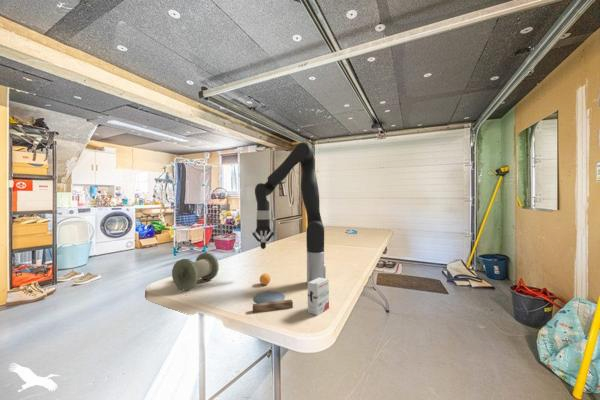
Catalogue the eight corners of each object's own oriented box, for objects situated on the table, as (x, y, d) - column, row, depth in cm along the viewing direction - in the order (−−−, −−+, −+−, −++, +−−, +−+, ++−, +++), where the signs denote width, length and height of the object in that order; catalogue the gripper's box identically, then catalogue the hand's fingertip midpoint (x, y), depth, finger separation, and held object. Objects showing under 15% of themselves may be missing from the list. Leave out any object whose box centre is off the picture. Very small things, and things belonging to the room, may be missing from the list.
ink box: (319, 304, 94) (319, 276, 94) (329, 308, 90) (329, 279, 91) (307, 312, 87) (307, 281, 87) (317, 316, 84) (317, 284, 84)
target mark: (281, 290, 109) (281, 289, 109) (287, 302, 95) (287, 302, 95) (252, 293, 105) (252, 292, 105) (254, 306, 91) (254, 306, 91)
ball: (269, 282, 120) (269, 271, 120) (271, 285, 114) (271, 274, 114) (259, 283, 118) (259, 272, 118) (260, 286, 113) (260, 275, 113)
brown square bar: (291, 305, 92) (291, 299, 93) (292, 307, 91) (292, 301, 91) (252, 310, 88) (252, 304, 88) (252, 312, 86) (252, 306, 86)
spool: (195, 292, 106) (195, 261, 107) (171, 288, 111) (172, 258, 112) (218, 280, 122) (218, 253, 122) (196, 277, 127) (197, 251, 127)
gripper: (251, 219, 121) (251, 250, 121) (275, 218, 125) (275, 249, 124) (251, 218, 128) (250, 248, 128) (273, 217, 132) (273, 246, 132)
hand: (263, 248), depth 126 cm, fingers closed
